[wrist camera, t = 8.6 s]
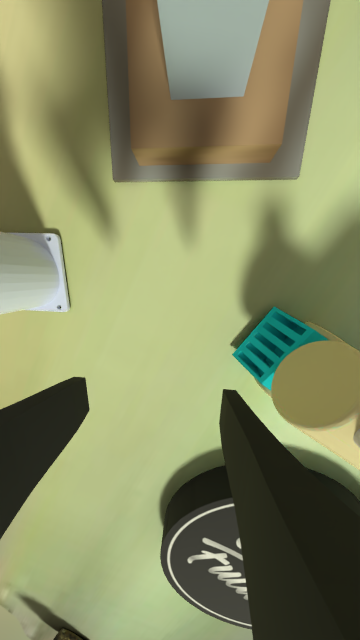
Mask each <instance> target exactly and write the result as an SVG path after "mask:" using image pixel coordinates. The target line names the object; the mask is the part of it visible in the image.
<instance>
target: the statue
mask: <svg viewBox="0 0 360 640" xmlns="http://www.w3.org/2000/svg"><path fill="white" fill-rule="evenodd" d="M53 640H83V639H81V638H80V637H78V636H77V635H76V634H74V633H73V632H71V631H69V630H67V629H61V630H60V631H59V632H58V634H57V635H56V636H55V638H54V639H53Z"/></svg>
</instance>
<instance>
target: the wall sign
mask: <svg viewBox="0 0 360 640" xmlns="http://www.w3.org/2000/svg"><path fill="white" fill-rule="evenodd" d="M306 469H307V468H306ZM307 470H308V471H309V472H310V473H312V474H313V475H314V476H315V477H316V478H317V479H318V480H319V481H320V482H321V483H322V484H323V485H324V486H325V487H326V488H328V489H329V490H330V491H331V492H332V493H333V494H334V495H335V496H337V497H338V498H339V499H340V500H341V501H342V502H343V503H345V504H346V505H347V506H348V507H349V508H350V509H351V510H353V511H354V512H355V513H356V514H357V515H358V516H360V501H359V500H358V499H357V498H356V497H355V496H354V495H353V494H352V493H351V492H350V491H349V490H348V489H346V488H345V487H344V486H342V485H341V484H340V483H338V482H336V481H335V480H333V479H331V478H329V477H327V476H325V475H323V474H321V473H318V472H315V471H313V470H310V469H307ZM160 558H161V564H162V568H163V571H164V574H165V576H166V578H167V580H168V581H169V583H170V584H171V586H172V587H173V588H174V589H175V590H176V592H177V593H178V594H179V595H180V596H182V597H183V598H184V599H185V600H186V601H187V602H189V603H190V604H192V605H193V606H195V607H196V608H198V609H199V610H201V611H202V612H204V613H206V614H208V615H210V616H212V617H215V618H217V619H219V620H222V621H224V622H227V623H230V624H233V625H236V626H240V627H243V628H248V629H252V625H251V617H250V610H249V602H248V595H247V587H246V580H245V572H244V565H243V558H242V551H241V543H240V536H239V529H238V524H237V518H236V512H235V507H234V503H233V498H232V493H231V488H230V483H229V479H228V474H227V469H226V465H225V466H221V467H218V468H214V469H212V470H209V471H206V472H204V473H202V474H200V475H198V476H196V477H195V478H193V479H191V480H190V481H188V482H187V483H186V484H184V485H183V486H182V487H181V488H180V489H179V490H178V491H177V492H176V493H175V495H174V496H173V497H172V499H171V501H170V502H169V505H168V507H167V510H166V514H165V521H164V529H163V537H162V545H161V556H160Z"/></svg>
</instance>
